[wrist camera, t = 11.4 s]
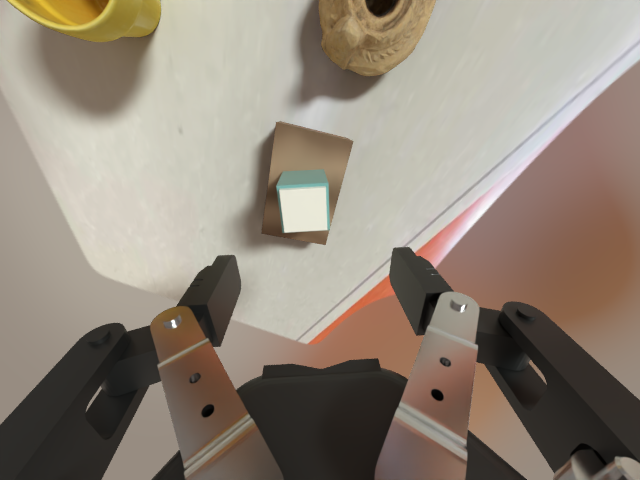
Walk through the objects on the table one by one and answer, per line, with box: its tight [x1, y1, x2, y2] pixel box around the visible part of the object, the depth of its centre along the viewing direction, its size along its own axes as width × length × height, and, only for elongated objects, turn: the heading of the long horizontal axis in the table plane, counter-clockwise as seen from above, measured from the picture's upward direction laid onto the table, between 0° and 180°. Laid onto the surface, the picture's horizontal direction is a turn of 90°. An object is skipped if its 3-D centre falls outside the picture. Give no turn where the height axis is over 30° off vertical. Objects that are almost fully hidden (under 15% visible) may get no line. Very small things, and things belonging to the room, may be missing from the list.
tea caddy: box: [276, 169, 330, 233], centre depth 27 cm, size 5×5×8 cm
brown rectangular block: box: [262, 121, 353, 245], centre depth 33 cm, size 14×9×5 cm, turn 167°
